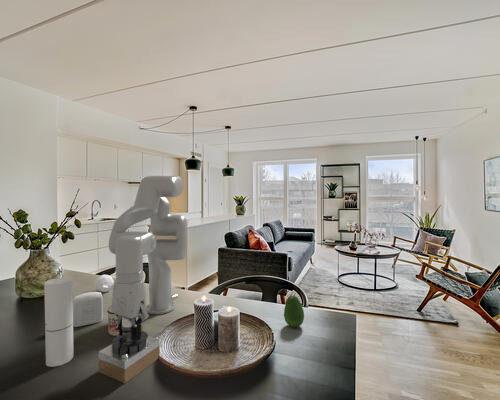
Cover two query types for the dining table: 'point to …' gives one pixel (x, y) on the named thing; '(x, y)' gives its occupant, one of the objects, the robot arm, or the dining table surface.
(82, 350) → the dining table surface
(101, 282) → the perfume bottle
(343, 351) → the dining table surface
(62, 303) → the cylindrical container
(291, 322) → the avocado
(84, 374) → the dining table surface
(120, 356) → the camera body
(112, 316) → the teacup with lid
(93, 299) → the photo printer
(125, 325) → the lens
